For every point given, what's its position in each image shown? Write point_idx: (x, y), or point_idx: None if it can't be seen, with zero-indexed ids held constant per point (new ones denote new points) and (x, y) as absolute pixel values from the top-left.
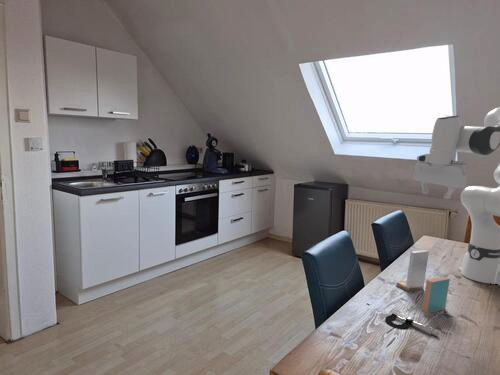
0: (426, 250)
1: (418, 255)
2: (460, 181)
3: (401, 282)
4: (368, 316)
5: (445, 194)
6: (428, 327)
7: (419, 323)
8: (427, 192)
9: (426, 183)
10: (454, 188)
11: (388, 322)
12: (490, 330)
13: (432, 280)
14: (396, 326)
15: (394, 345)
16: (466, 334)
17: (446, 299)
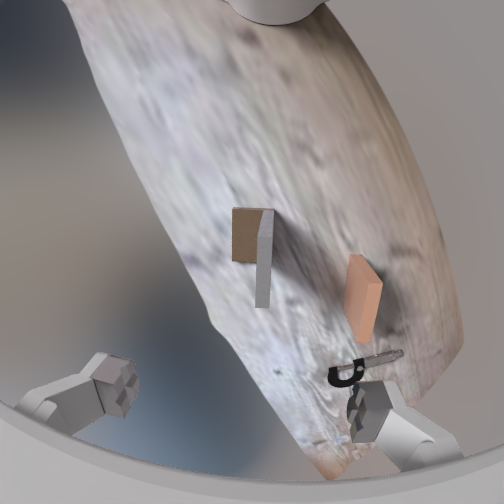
0: (264, 240)
1: (270, 282)
2: None
3: (238, 251)
4: (309, 395)
5: (365, 435)
6: (388, 359)
7: (374, 363)
8: (130, 378)
9: (59, 428)
10: (454, 455)
11: (337, 384)
12: (441, 253)
13: (365, 333)
14: (351, 382)
15: None
16: (423, 305)
17: (367, 263)
